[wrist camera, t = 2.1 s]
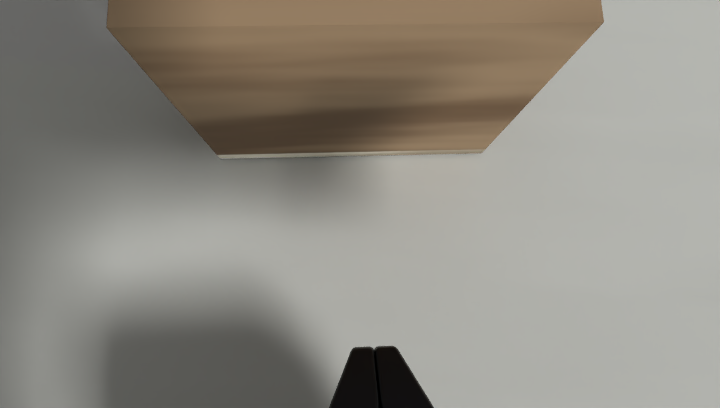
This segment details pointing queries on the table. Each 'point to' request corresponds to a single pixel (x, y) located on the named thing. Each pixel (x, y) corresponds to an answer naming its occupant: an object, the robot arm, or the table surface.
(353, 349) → the robot arm
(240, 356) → the table surface
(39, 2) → the table surface
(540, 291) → the table surface
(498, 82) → the walnut block
